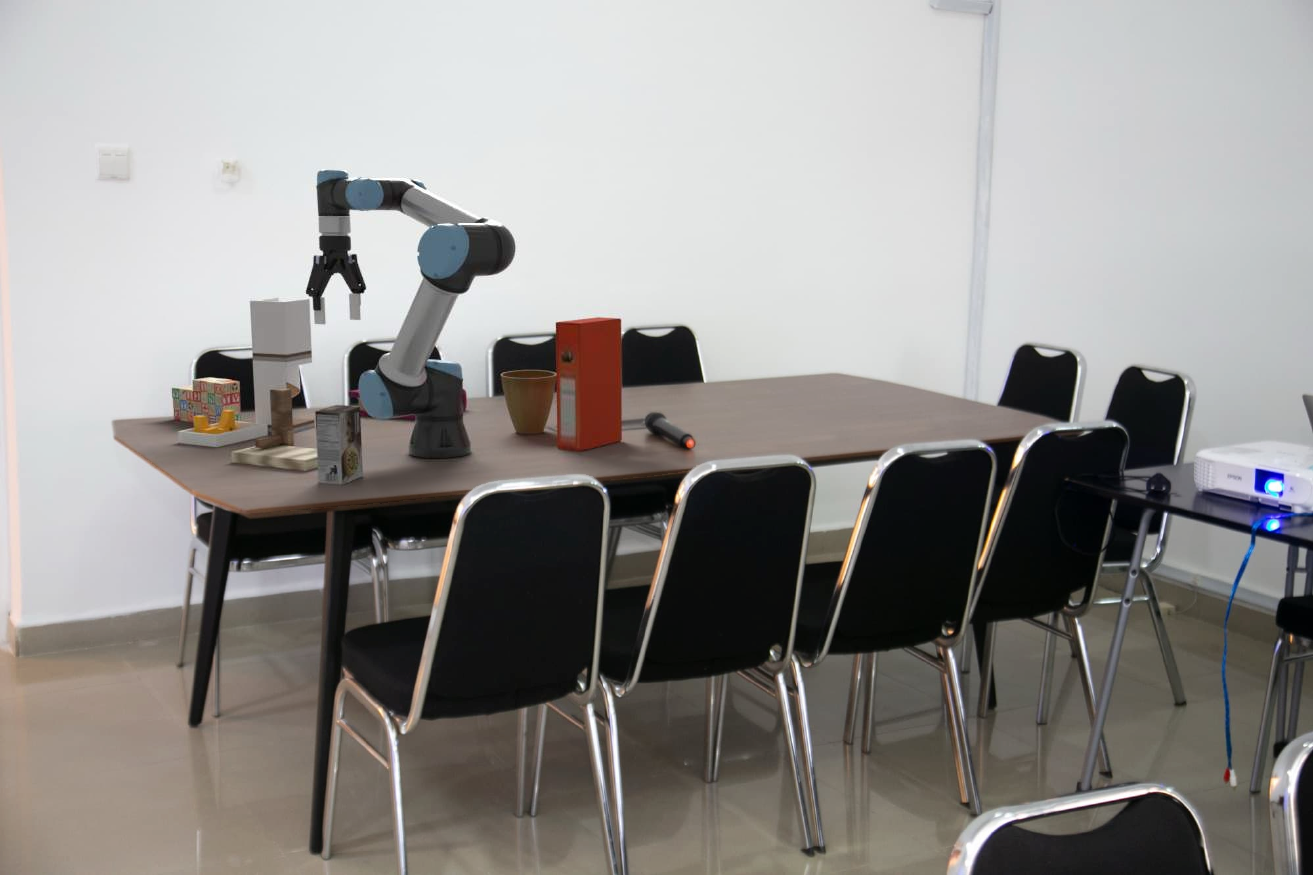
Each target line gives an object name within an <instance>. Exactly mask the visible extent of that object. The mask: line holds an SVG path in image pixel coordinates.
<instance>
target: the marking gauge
mask: <svg viewBox="0 0 1313 875" xmlns="http://www.w3.org/2000/svg"><path fill="white" fill-rule="evenodd" d="M270 405H271V426H272V432H271V435H267V436H263V437H259V438H254V444H255V445H254V446H255V448H265V447H269V446H273V445H284V446H294V447H295V442H294V441H295V440H294V433H293V418H294V417H293V398H292V396H291V389H284V388H276V389H270Z"/></svg>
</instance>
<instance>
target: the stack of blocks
mask: <svg viewBox="0 0 1313 875" xmlns="http://www.w3.org/2000/svg"><path fill="white" fill-rule="evenodd" d="M240 383H241V382H240V381H238V380H232V379H228V378H219V377H218V378H217V377H204V378H203V377H202V378H197V379H195V378H194V379H192V385H191V384H189V385H182V386H176V387H171V398H172V407H173V408H172V409H173V419H174V420H176V421H182V422H188V423H193V424H194V419H193V416H198V415H201V416H207V421H208V423H209V425H211V424H216V423H219V421H220V419H221V415H222V411H223V410H234V411H235V421H240V422H242V414H241V392H240V391H241V387H240V385H241V384H240Z"/></svg>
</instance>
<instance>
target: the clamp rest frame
mask: <svg viewBox="0 0 1313 875" xmlns="http://www.w3.org/2000/svg"><path fill="white" fill-rule="evenodd" d="M217 424H218V423H216V424H211V425H210V426H211V427H212V428H214V427H215V426H216V425H217ZM268 433H269V432H268V430H267V424H260V423H256V422H250V421H249V422H247V421H241V422H240V421H235V431H230V432H226V433H221V434H217V435H214V434H205V433H195V432H194V427H193V428H186V429H183V430H178V431H177V437H178V444H185V445H192V446H193V445H194V446H203V447H211V448H212V447H213V448H220V447H225V446H227V445H233V444H237V443H241V442H245V441H251V440H255V439H258V438H263V437H267V436H269V434H268Z"/></svg>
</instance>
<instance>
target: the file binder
mask: <svg viewBox="0 0 1313 875" xmlns="http://www.w3.org/2000/svg"><path fill="white" fill-rule="evenodd" d="M555 351H556V352H555V359H556V361H555V362H556V364H555V366H556V367H555V368H556V369H555V370H556V372H555V373H556V433H557V434H556V435H557V436H556V439H557V440H556V442H557V444H556V445H557V448H558V449H561V450H568V451H574V452H575V451H577V452H582V451H586V450H590V449H594V448H598V447H602V446H607V445H610V444H614V443H618V442H621V441H622V439H623V437H622V436H623V435H622V434H623V433H622V432H623V431H622V430H623V427H622V426H623V423H622V420H623V418H622V417H623V414H622V413H623V412H622V408H623V407H622V402H623V400H622V399H623V398H622V397H623V396H622V389H623V388H622V380H623V379H622V319H621V318H617V317H616V318H615V317H600V316H599V317H598V316H597V317H596V316H595V317H589V318H582V319H579V318H578V319H572V320H564V321H557V322H555Z"/></svg>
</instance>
